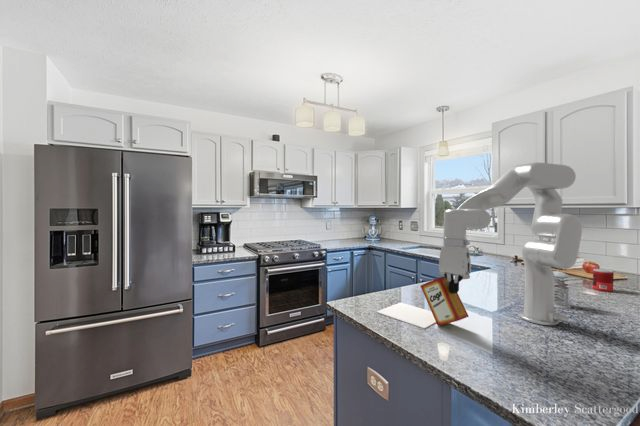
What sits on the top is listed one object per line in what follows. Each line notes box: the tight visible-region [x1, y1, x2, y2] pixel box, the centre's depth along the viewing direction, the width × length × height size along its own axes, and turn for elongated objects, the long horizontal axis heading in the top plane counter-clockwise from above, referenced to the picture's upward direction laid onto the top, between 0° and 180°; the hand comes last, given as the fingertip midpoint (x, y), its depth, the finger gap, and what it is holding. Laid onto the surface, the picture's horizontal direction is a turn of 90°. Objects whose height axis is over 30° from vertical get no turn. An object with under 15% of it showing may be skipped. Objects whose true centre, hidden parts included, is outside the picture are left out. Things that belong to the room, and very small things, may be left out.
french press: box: [552, 270, 572, 309], centre depth 135 cm, size 10×12×25 cm
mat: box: [375, 302, 437, 330], centre depth 121 cm, size 22×18×1 cm
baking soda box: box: [420, 276, 470, 327], centre depth 111 cm, size 10×6×16 cm
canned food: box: [592, 268, 614, 293], centre depth 158 cm, size 8×8×11 cm
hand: (453, 292), depth 108 cm, fingers closed
